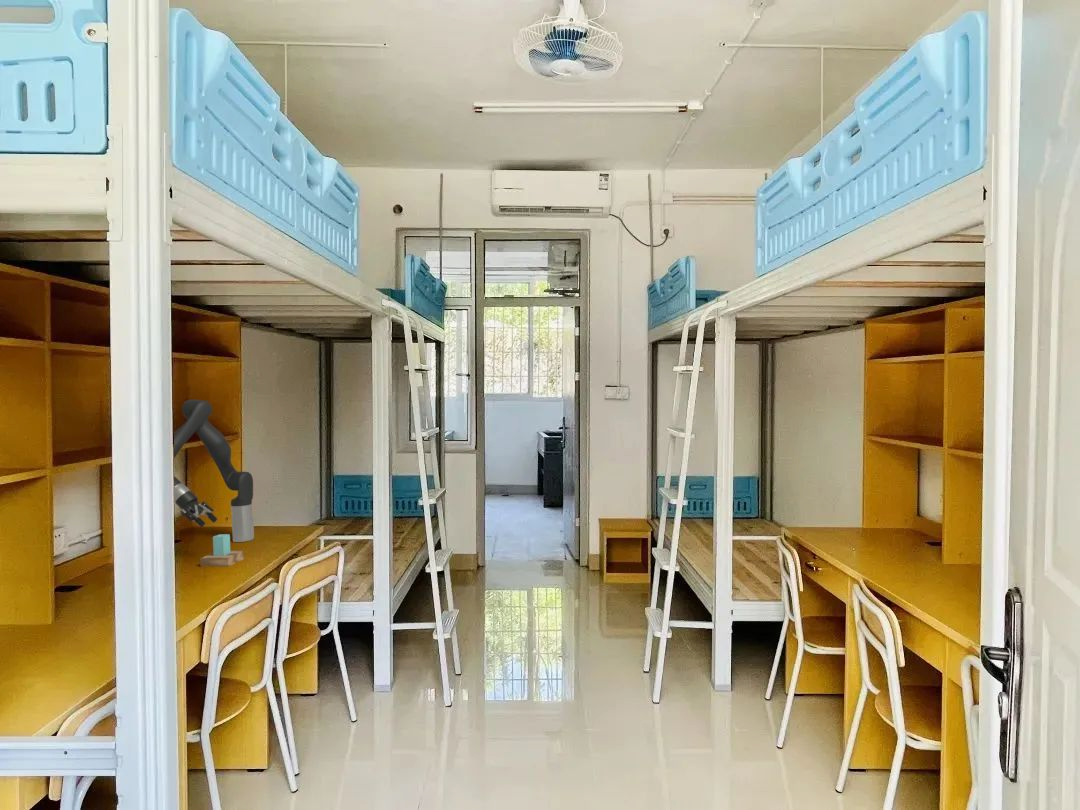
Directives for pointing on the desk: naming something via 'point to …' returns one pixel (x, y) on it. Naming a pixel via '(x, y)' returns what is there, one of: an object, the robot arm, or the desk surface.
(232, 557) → the brown notched block
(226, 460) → the robot arm
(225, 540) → the teal block
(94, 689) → the desk surface
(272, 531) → the desk surface
